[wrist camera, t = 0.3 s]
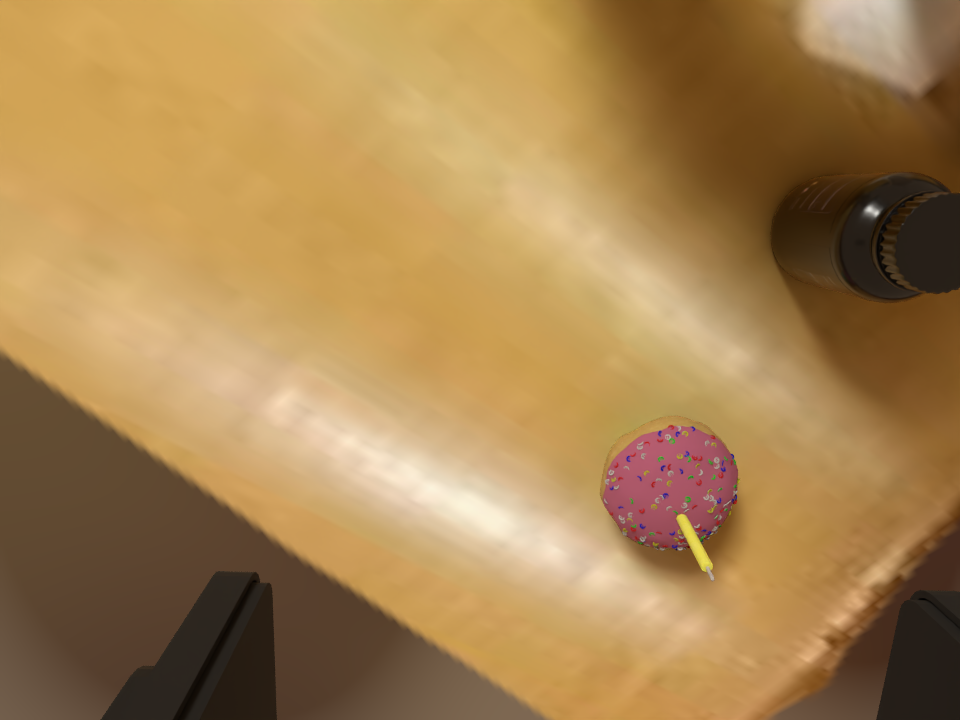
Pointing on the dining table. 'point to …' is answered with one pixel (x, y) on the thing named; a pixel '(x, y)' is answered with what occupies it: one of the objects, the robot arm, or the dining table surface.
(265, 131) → the dining table surface
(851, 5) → the dining table surface
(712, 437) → the cupcake
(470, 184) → the dining table surface
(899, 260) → the supplement bottle
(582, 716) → the dining table surface
